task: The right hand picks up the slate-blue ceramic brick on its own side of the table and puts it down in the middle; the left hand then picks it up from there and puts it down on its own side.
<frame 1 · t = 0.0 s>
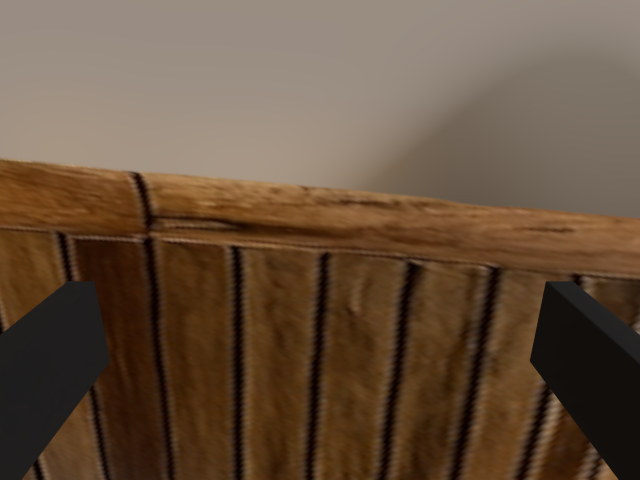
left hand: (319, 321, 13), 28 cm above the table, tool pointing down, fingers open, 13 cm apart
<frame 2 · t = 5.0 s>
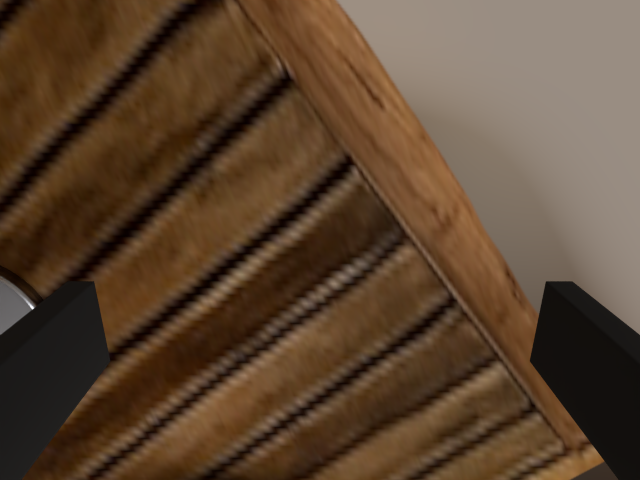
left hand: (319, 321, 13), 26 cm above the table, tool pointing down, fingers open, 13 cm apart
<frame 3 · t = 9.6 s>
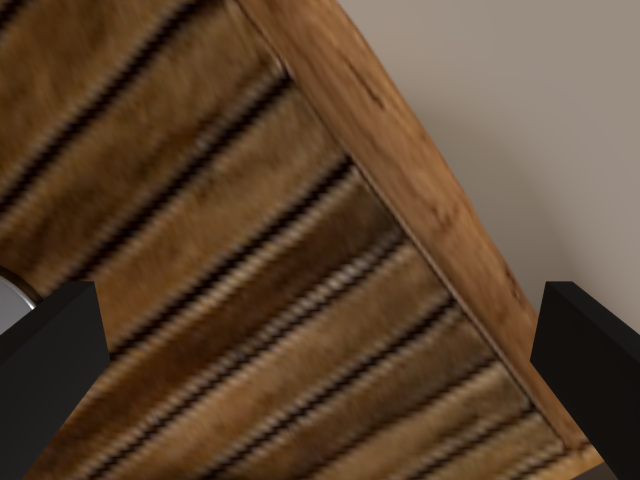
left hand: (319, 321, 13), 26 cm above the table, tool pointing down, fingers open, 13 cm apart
when the right hand's fingers open (5 cm above the table, at t = 14.6 s): brick drops 2 cm, on the table.
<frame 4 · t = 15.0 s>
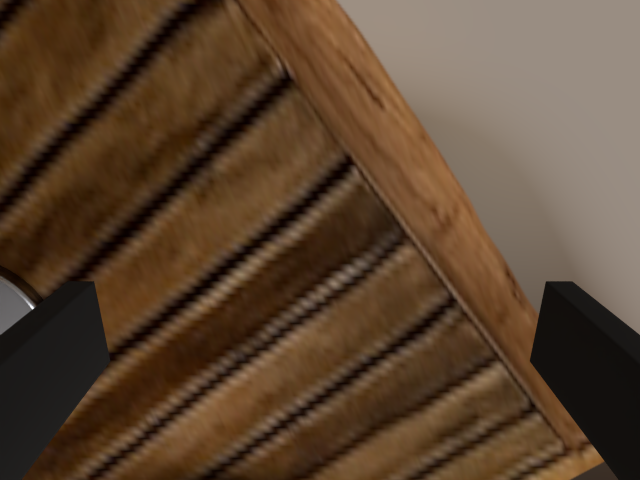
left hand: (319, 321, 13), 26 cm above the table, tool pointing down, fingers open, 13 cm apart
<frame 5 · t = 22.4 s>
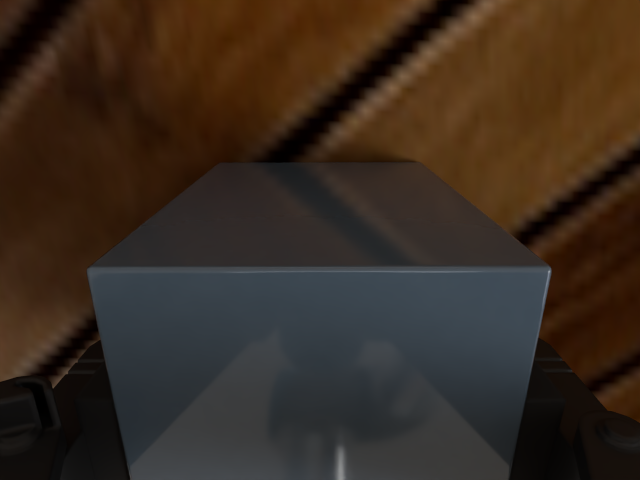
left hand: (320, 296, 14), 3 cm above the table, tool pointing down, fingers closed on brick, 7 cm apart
brick: (320, 261, 17), on the table, touching left hand
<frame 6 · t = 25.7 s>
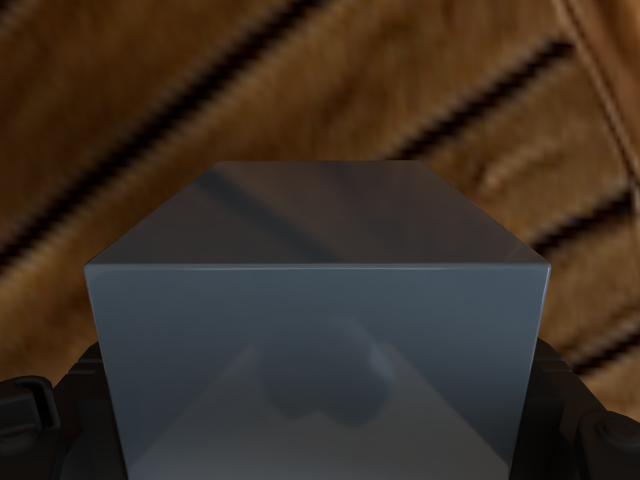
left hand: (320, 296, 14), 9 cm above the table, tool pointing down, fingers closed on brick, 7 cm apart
brick: (319, 260, 17), point 7 cm above the table, touching left hand
when the left hand's fingers open (5 cm above the table, at t = 28.9 s): brick drops 2 cm, on the table.
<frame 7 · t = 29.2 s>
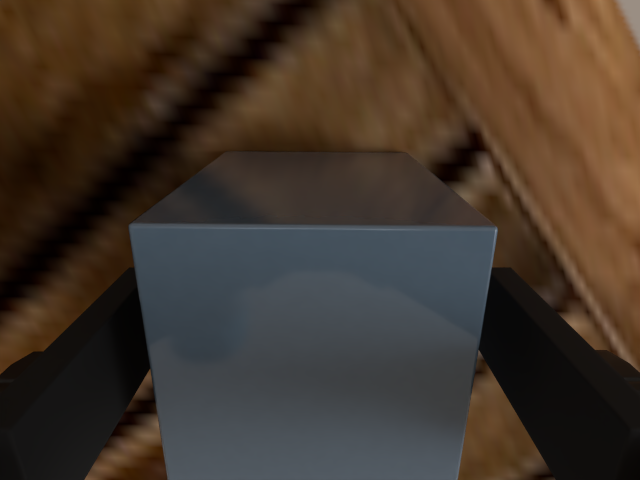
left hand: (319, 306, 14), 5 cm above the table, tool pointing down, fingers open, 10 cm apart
brick: (316, 242, 18), on the table
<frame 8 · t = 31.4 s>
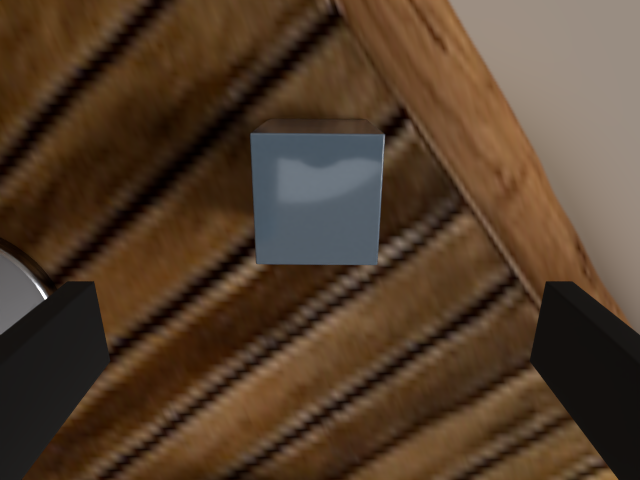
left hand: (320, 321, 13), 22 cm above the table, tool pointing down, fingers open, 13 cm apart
brick: (317, 170, 33), on the table
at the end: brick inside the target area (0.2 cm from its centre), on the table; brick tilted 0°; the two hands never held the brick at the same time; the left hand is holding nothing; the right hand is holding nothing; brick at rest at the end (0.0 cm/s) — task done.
